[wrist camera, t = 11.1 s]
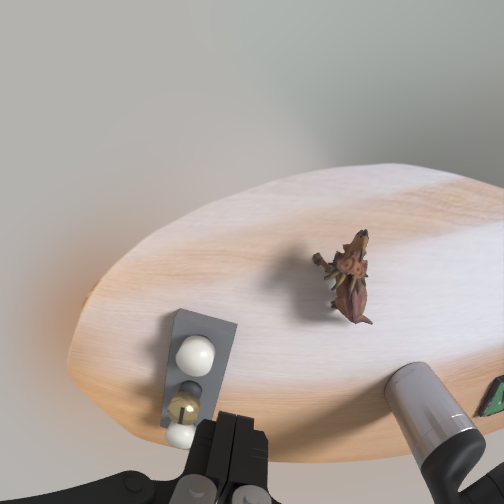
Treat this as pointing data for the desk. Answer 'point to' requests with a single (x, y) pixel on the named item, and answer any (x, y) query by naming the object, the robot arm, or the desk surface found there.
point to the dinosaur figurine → (349, 278)
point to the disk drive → (494, 399)
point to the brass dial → (184, 408)
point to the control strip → (210, 383)
